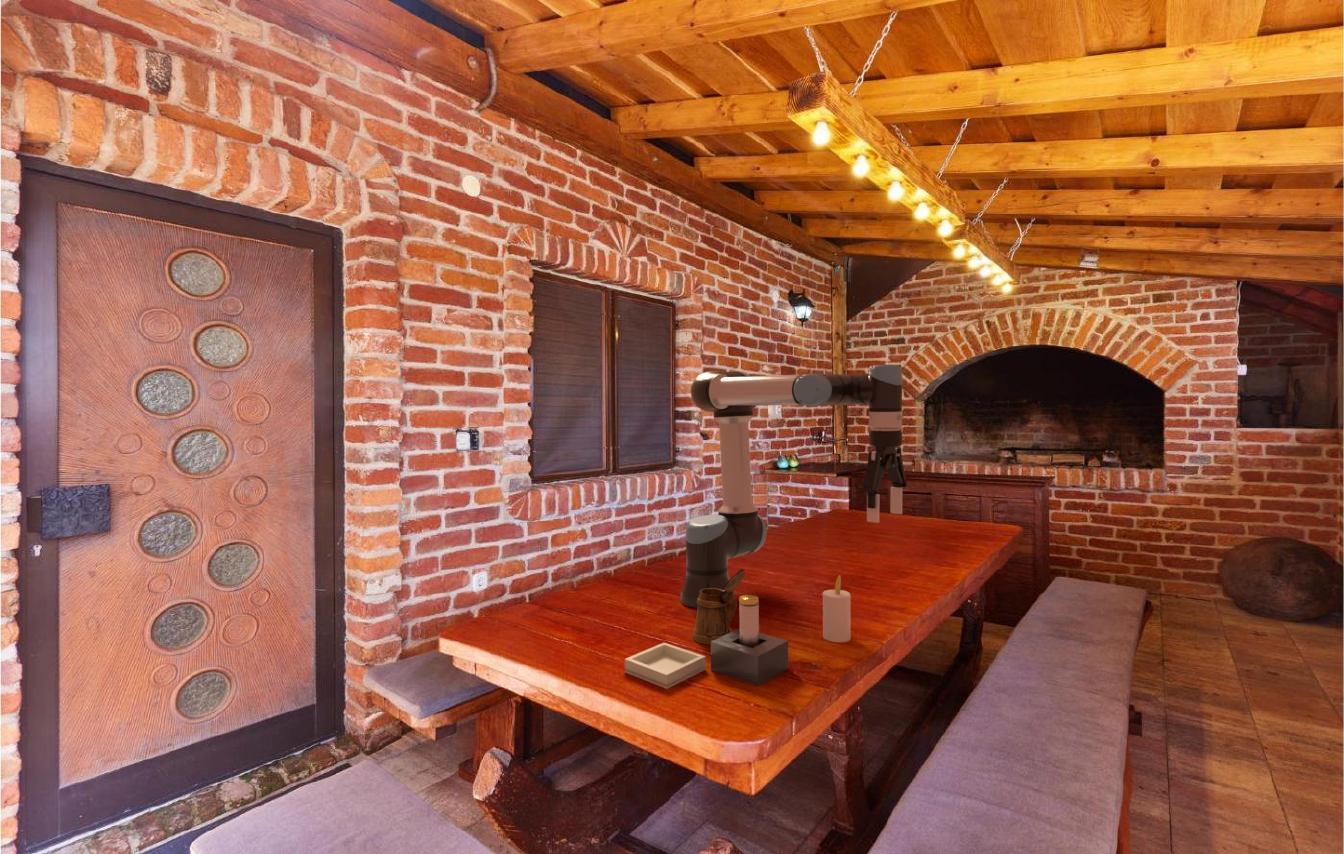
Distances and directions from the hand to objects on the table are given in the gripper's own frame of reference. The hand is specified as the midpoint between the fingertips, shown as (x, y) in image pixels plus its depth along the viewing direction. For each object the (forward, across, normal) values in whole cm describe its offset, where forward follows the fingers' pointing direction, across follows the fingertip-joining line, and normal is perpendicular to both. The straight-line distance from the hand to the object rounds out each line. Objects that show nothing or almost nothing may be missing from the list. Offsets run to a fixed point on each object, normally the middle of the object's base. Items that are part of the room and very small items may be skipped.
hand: (885, 517), depth 155 cm
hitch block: (+28, -39, +13) cm, 50 cm away
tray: (+28, -51, +26) cm, 64 cm away
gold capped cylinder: (+28, -39, +13) cm, 50 cm away
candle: (+28, -12, +7) cm, 31 cm away
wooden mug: (+28, -30, +27) cm, 49 cm away
